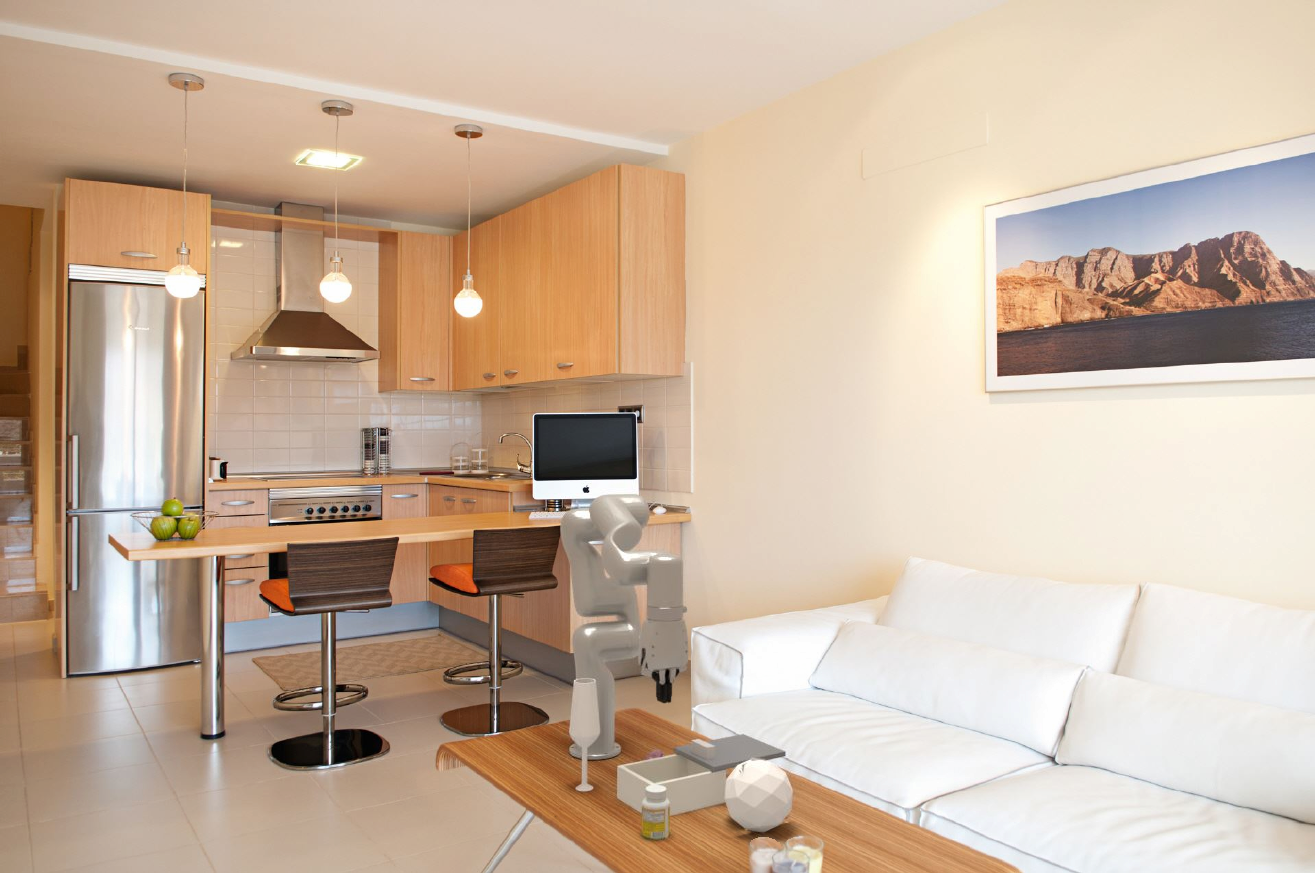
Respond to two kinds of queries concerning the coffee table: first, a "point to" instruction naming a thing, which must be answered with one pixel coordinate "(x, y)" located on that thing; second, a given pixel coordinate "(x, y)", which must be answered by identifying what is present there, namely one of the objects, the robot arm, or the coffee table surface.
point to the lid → (727, 752)
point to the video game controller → (654, 754)
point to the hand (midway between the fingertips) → (664, 701)
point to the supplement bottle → (655, 813)
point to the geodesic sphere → (758, 795)
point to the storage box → (671, 783)
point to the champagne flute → (584, 721)
